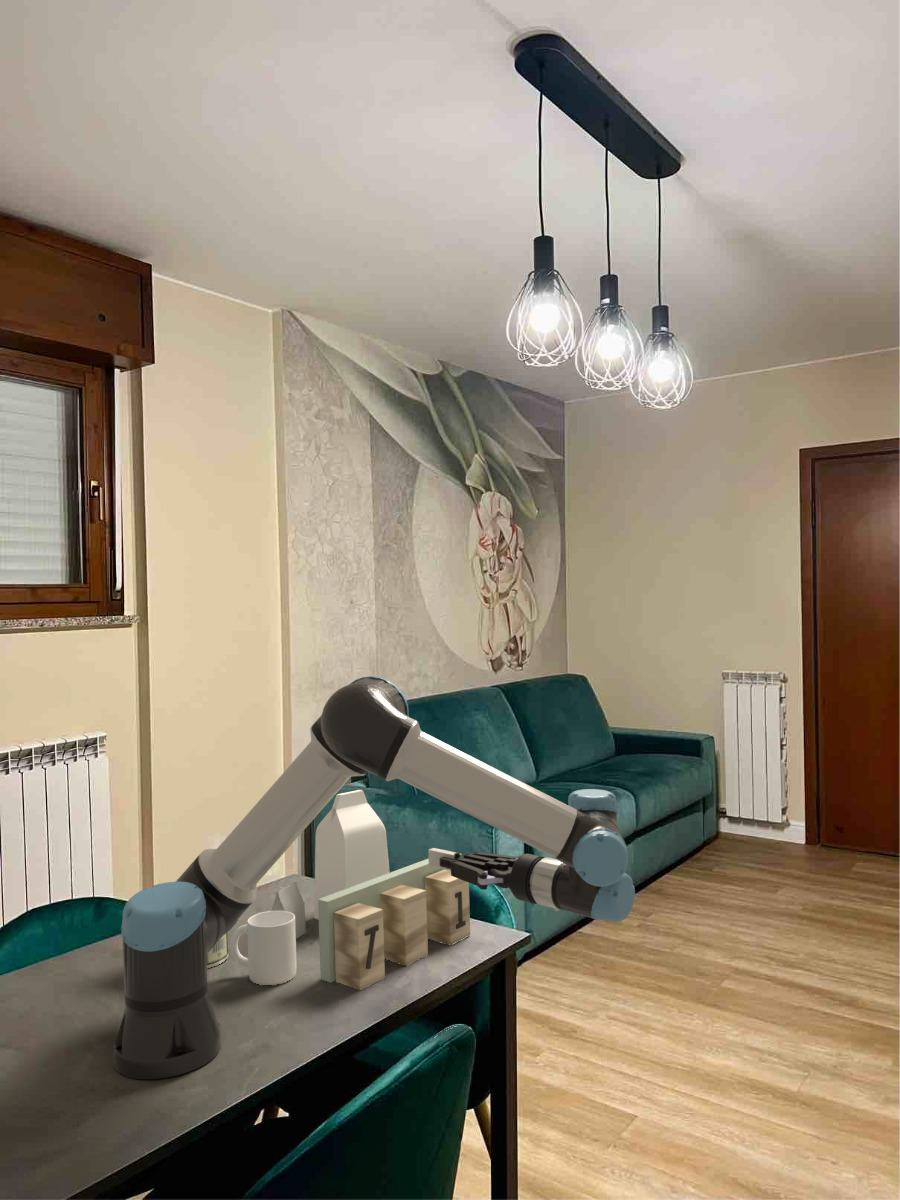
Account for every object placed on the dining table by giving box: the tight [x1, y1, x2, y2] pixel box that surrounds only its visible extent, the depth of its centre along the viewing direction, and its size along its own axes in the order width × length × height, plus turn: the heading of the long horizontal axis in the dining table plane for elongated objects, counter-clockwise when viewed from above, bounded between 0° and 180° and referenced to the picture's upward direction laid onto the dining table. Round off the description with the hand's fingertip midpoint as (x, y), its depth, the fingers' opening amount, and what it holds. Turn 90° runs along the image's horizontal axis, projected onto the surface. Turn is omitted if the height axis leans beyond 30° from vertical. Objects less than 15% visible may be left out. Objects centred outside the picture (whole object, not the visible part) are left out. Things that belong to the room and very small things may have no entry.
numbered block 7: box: [334, 903, 386, 991], centre depth 157 cm, size 6×6×12 cm
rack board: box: [318, 858, 447, 984], centre depth 169 cm, size 2×32×14 cm, turn 140°
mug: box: [229, 910, 297, 986], centre depth 160 cm, size 12×8×10 cm
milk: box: [313, 789, 391, 921], centre depth 189 cm, size 12×12×26 cm
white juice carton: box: [270, 881, 306, 940], centre depth 178 cm, size 4×7×10 cm, turn 159°
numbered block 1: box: [425, 869, 471, 946], centre depth 175 cm, size 6×6×12 cm
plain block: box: [380, 885, 429, 966], centre depth 167 cm, size 6×6×12 cm
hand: (431, 856), depth 162 cm, fingers closed
